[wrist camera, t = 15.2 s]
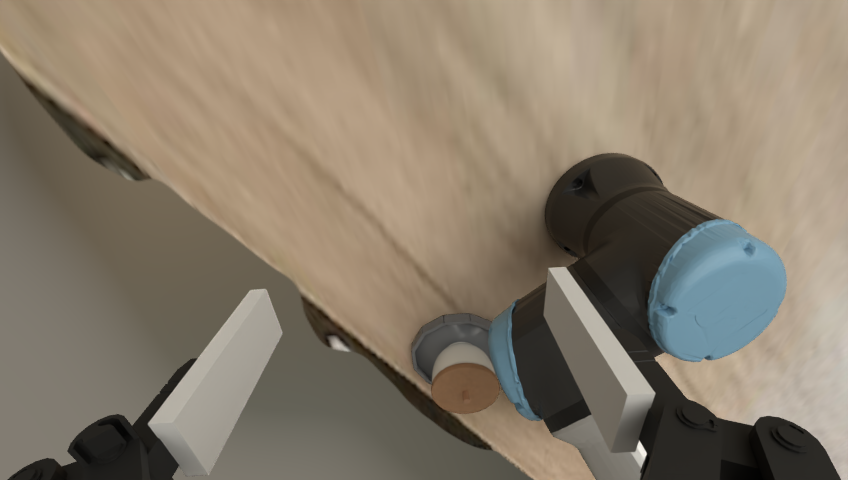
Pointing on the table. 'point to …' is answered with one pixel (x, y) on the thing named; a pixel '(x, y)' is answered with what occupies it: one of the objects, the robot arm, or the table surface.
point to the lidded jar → (464, 379)
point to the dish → (447, 339)
